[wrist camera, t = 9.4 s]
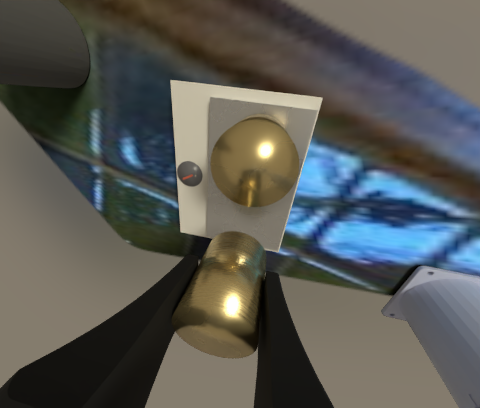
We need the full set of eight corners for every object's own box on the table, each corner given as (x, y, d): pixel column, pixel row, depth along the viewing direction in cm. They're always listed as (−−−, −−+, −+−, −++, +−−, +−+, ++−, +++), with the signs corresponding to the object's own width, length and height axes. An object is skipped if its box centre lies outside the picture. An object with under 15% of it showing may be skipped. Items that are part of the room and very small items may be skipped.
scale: (316, 98, 13) (323, 97, 11) (278, 239, 19) (278, 253, 18) (183, 82, 14) (169, 79, 12) (188, 221, 20) (179, 233, 19)
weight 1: (293, 115, 11) (308, 123, 7) (283, 176, 13) (290, 211, 9) (230, 111, 12) (208, 117, 7) (229, 171, 14) (211, 202, 9)
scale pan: (316, 109, 12) (317, 110, 11) (277, 246, 17) (277, 251, 17) (212, 97, 12) (210, 96, 12) (208, 232, 18) (206, 236, 18)
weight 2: (264, 279, 13) (256, 366, 9) (211, 271, 14) (178, 347, 9) (268, 235, 11) (260, 317, 7) (206, 227, 12) (163, 298, 8)
